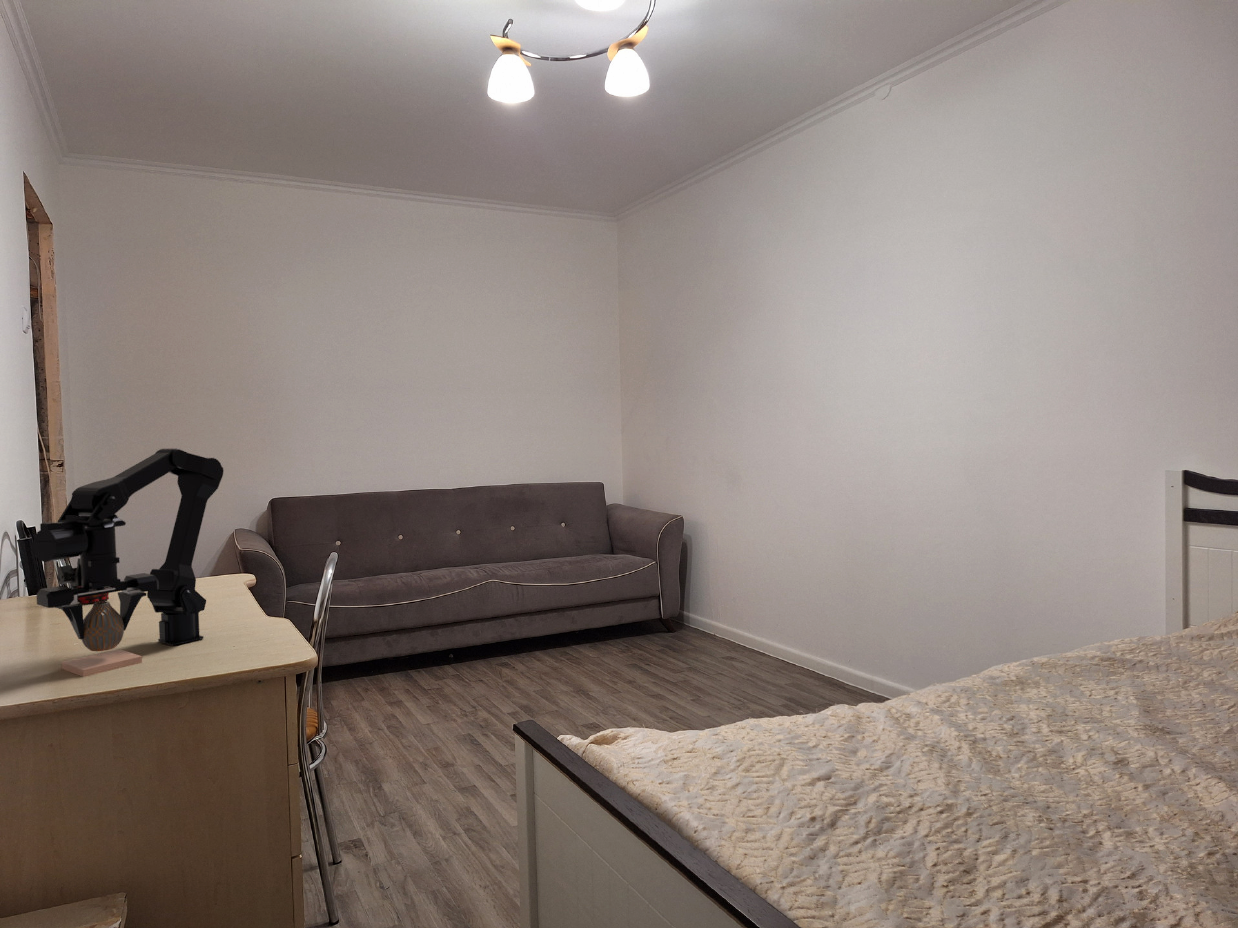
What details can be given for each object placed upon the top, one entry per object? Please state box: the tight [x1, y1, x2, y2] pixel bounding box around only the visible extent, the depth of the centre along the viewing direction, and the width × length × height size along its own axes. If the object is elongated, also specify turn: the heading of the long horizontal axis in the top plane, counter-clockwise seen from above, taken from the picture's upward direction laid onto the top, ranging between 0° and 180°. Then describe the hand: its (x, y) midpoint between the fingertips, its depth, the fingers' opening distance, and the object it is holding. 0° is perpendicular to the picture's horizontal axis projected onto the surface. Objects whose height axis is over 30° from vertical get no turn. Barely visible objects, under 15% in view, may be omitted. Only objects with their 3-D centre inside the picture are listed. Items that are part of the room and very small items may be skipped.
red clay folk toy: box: [77, 586, 110, 605], centre depth 206 cm, size 8×7×15 cm
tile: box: [61, 649, 143, 678], centre depth 150 cm, size 10×2×9 cm
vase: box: [81, 600, 125, 652], centre depth 150 cm, size 7×7×9 cm
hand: (102, 634), depth 150 cm, fingers closed on vase, 7 cm apart
